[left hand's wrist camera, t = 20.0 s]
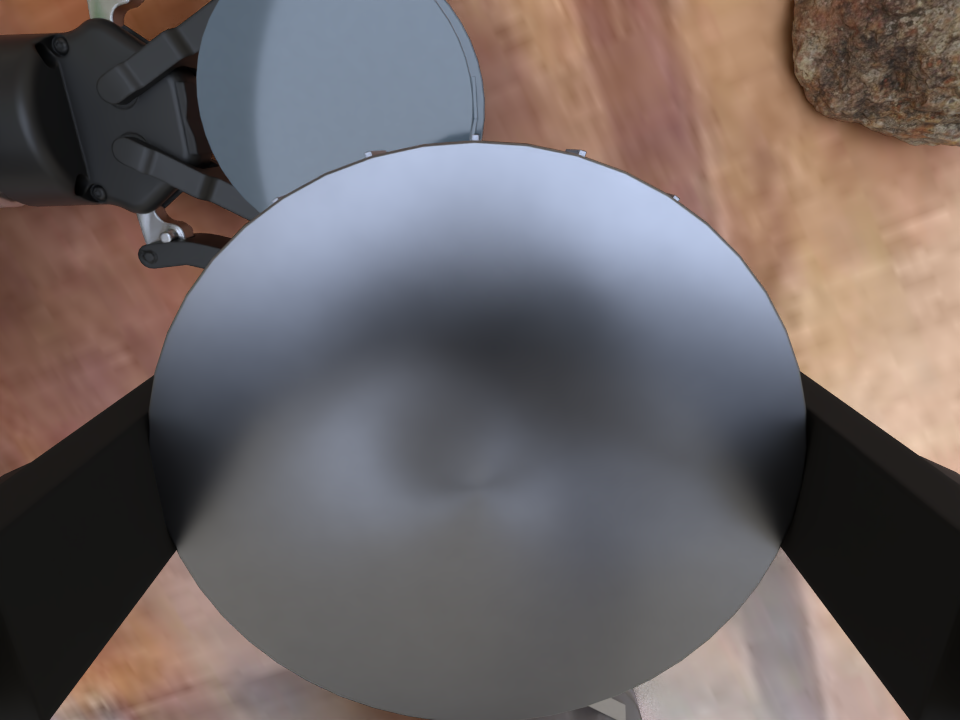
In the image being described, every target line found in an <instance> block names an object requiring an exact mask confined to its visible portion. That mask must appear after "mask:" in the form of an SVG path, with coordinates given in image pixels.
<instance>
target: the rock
mask: <svg viewBox="0 0 960 720" xmlns="http://www.w3.org/2000/svg"><path fill="white" fill-rule="evenodd" d="M794 2H795V6H794V21H793V30H792V41H793V49H794V51H793V60H794V67H795V75H796V77H797V79H798V81H799V83H800V85H802V86H803V88H804V92H805V96H806V98H807V100H808V101H809V102H810V103H811V104H812V105H814V107H815V110H816V111H818V112H820V113H821V114H823V115H824V116H826V117H830V118H833V119H835V120H840V121H844V122H849V123H852V122H857V123H860V124H862V125H864V126H866V127H868V128H869V129H870V130H873V131H876V132H879V133H881V134H883V135H885V136H894V137H896V138H898V139H900V140H902V141H904V142H907V143H908V144H910V145H914V146H917V145H922V144H923V145H930V146H936V145H940V144H942V145H949V146H960V0H794Z"/></svg>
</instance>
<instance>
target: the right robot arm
mask: <svg viewBox="0 0 960 720" xmlns="http://www.w3.org/2000/svg"><path fill="white" fill-rule="evenodd" d="M218 1H219V0H212V1H210V2H209V3H208V4H206V5H205V6H204V7H202V8H201V9H200V10H199V11H197V12H196V13H195V14H193V15H192V16H191V17H189V18H188V19H187V20H185V21H184V22H183V23H182V24H180V25H179V26H177V27H175V28H172V29H168V30H166V31H163V32H162V33H160V34H159V35H158V36H156V37H155V38H154V39H152V40H151V41H150V42H149V41H148V40H146V39H145V38H143V37H142V36H140V35H139V34H137V33H136V32H134V31H133V30H131V29H130V28H128V27H127V26H125V25H124V16H125V14H126V12H127V11H128V10H130V9H133V8H136V7H138V6H140V5H141V3H143V2H144V0H87V2H88V8H89V14H90V19H89V20H87V21H85V22H84V23H82V24H81V25H80V26H79V27H78V28H76V29H74V30H72V31H69V32H65V33H48V34H21V35H0V208H2V207H20V206H23V205H29V206H66V205H98V204H111V205H116V206H120V207H122V208H124V209H126V210H128V211H131V212H133V213H136V214H137V217H138V220H139V223H140V226H141V229H142V232H143V236H144V239H145V242H146V245H144V246H142V247H141V248H140V249H139V252H138V256H139V259H140V261H141V263H142V264H143V265H144V266H146V267H148V268H163V267H172V266H180V265H190V266H194V267H199V268H203V269H205V268H206V266H207V265H208V263H209V262H210V261H211V259H212V258H213V257H214V256H215V255H216V254H217V253H218V252H219V251H220V250H221V249H222V248H223V247H224V246H225V245H226V244H227V243H228V242H229V241H230V240H231V238H228V237H224V236H220V235H214V234H206V233H195V234H193V229H192V227H191V226H189V225H188V224H187V223H185V222H183V221H177V220H174V219H172V218H171V217H169V216H168V214H167V213H166V211H165V208H166V207H167V206H168V205H169V204H170V203H171V202H172V201H173V200H175V199H176V198H177V197H178V196H179V195H180V194H181V193H182V192H185V193H187V194H189V195H191V196H193V197H195V198H198V199H201V200H206V201H210V202H212V203H215V204H217V205H219V206H221V207H223V208H225V209H227V210H229V211H231V212H233V213H235V214H237V215H239V216H241V217H243V218H245V219H247V220H249V221H251V220H252V219H253V218H255V217H256V216H257V215H259V214H260V213H259V212H258V211H257V210H256V209H255V208H254V207H253V206H252V205H250V204H249V203H248V202H247V201H246V200H245V199H244V198H243V197H242V195H241V194H240V193H239V192H238V191H237V190H236V189H235V187H234V186H233V185H232V184H231V182H230V181H229V179H228V178H227V176H226V175H225V174H224V172H223V171H222V169H221V167H220V165H219V164H218V162H217V161H215V160H213V159H211V156H212V153H213V152H212V150H211V147H210V145H209V142H208V140H207V137H206V135H205V131H204V128H203V124H202V121H201V117H200V112H199V105H198V99H197V80H196V75H197V63H198V55H199V50H200V45H201V41H202V37H203V34H204V31H205V28H206V26H207V23H208V20H209V18H210V16H211V14H212V12H213V10H214V8H215V7H216V5H217V3H218Z"/></svg>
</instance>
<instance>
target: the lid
mask: <svg viewBox="0 0 960 720" xmlns="http://www.w3.org/2000/svg"><path fill="white" fill-rule="evenodd" d="M471 136H472V141H459V142H446V143H432V144H422V145H417V146H413V147H408V148H403V149H399V150H394V151H390V152H386V150H379V151H369V152H365V153H364V154H365V157H366V158H364V159H361V160H359V161H356V162H353V163H351V164H348V165H345V166H343V167H340V168H337V169H335V170H332V171H329V172H327V173H324V174H323V175H321V176H319V177H317V178H315V179H313V180H312V181H310V182H308V183H306V184H304V185H303V186H301V187H299V188H297V189H295V190H293V191H292V192H290V193H288V194H286V195H284V196H280V197H276V198H275V199H274V200H272V202H273V204H272V205H271V206H269V207H268V208H267V209H265V210H264V211H263V212H261V213H260V214H259V215H257V216H256V217H255V218H253V219H252V220H251V221H249V222H248V223H247V224H245V225H244V226H243V227H242V228H241V229H240V230H239V231H238V232H237V233H236V234H235V235H234V236H233V237H232V238H231V240H230V241H229V242H228V243H227V244H226V245H225V246H224V247H223V248H222V249H221V250H220V251H219V252H218V253H217V254H216V255H215V256H214V257H213V258H212V259H211V261H210V262H209V263H208V265H207V266H206V268H205V269H204V270H203V272H202V273H201V275H200V276H199V278H198V279H197V280H196V282H195V283H194V285H193V286H192V287H191V289H190V290H189V292H188V293H187V294H186V296H185V298H184V300H183V302H182V304H181V306H180V308H179V310H178V312H177V314H176V316H175V318H174V320H173V322H172V324H171V326H170V328H169V330H168V332H167V335H166V338H165V341H164V345H163V348H162V351H161V354H160V357H159V360H158V363H157V366H156V370H155V374H154V380H153V386H152V393H151V399H150V406H149V450H150V455H151V460H152V465H153V469H154V474H155V478H156V483H157V488H158V492H159V497H160V501H161V506H162V511H163V515H164V519H165V524H166V527H167V530H168V532H169V534H170V536H171V538H172V541H173V543H174V545H175V547H176V549H177V552H178V554H179V556H180V558H181V559H182V561H183V563H184V564H185V566H186V567H187V569H188V571H189V572H190V574H191V575H192V577H193V579H194V580H195V582H196V583H197V585H198V586H199V588H200V589H201V590H202V592H203V593H204V594H205V595H206V597H207V598H208V599H209V600H210V601H211V603H212V604H213V605H214V606H215V608H216V609H217V610H218V611H219V612H220V614H221V615H222V616H223V617H224V618H225V619H226V620H227V621H228V622H229V623H230V624H231V625H232V626H233V627H234V628H236V629H237V630H238V631H239V632H240V633H241V634H242V635H243V636H244V637H245V638H246V639H247V640H248V641H249V642H251V643H252V644H253V645H255V646H256V647H257V648H258V649H260V650H261V651H262V652H264V653H265V654H266V655H268V656H269V657H270V658H272V659H273V660H274V661H276V662H277V663H278V664H280V665H282V666H283V667H285V668H287V669H288V670H290V671H292V672H293V673H295V674H297V675H298V676H300V677H302V678H303V679H305V680H307V681H309V682H311V683H313V684H315V685H317V686H319V687H322V688H324V689H326V690H328V691H330V692H332V693H334V694H337V695H339V696H341V697H344V698H347V699H350V700H353V701H355V702H358V703H361V704H364V705H367V706H370V707H373V708H376V709H380V710H385V711H389V712H393V713H397V714H401V715H405V716H410V717H417V718H425V719H432V720H525V719H531V718H538V717H545V716H551V715H555V714H559V713H563V712H567V711H571V710H575V709H579V708H583V707H586V706H589V705H592V704H595V703H598V702H600V701H603V700H606V699H609V698H612V697H614V696H617V695H620V694H622V693H624V692H626V691H628V690H630V689H632V688H634V687H636V686H638V685H641V684H643V683H645V682H647V681H649V680H651V679H653V678H654V677H656V676H657V675H659V674H661V673H662V672H664V671H666V670H667V669H669V668H670V667H672V666H674V665H675V664H677V663H679V662H680V661H682V660H683V659H684V658H686V657H687V656H688V655H689V654H691V653H692V652H693V651H695V650H696V649H697V648H698V647H700V646H701V645H702V644H704V643H705V642H706V641H707V640H709V639H710V638H711V637H712V636H713V635H714V634H715V633H716V632H717V631H718V630H719V629H720V628H721V627H722V626H723V625H724V624H725V623H726V622H727V621H728V620H729V619H730V618H731V617H732V616H733V615H734V614H735V613H736V612H737V611H738V610H739V608H740V607H741V606H742V605H743V603H744V602H745V601H746V600H747V598H748V597H749V596H750V595H751V593H752V592H753V591H754V590H755V588H756V587H757V586H758V584H759V583H760V581H761V579H762V578H763V576H764V575H765V573H766V571H767V570H768V568H769V566H770V565H771V563H772V562H773V560H774V558H775V557H776V555H777V553H778V551H779V548H780V546H781V544H782V542H783V539H784V537H785V535H786V533H787V530H788V528H789V526H790V523H791V521H792V518H793V514H794V511H795V507H796V504H797V500H798V497H799V493H800V490H801V486H802V480H803V473H804V465H805V458H806V450H807V426H806V405H805V399H804V393H803V387H802V381H801V375H800V369H799V366H798V363H797V360H796V357H795V354H794V351H793V348H792V345H791V342H790V339H789V336H788V333H787V330H786V328H785V326H784V324H783V322H782V320H781V318H780V317H779V315H778V313H777V311H776V309H775V307H774V305H773V303H772V301H771V299H770V297H769V295H768V293H767V292H766V290H765V289H764V287H763V286H762V285H761V283H760V282H759V281H758V279H757V278H756V277H755V275H754V274H753V272H752V271H751V270H750V268H749V267H748V266H747V264H746V263H745V262H744V260H743V259H742V257H741V256H740V255H739V254H738V253H737V252H736V251H735V250H734V249H733V248H732V247H731V246H730V245H729V244H728V243H727V242H726V241H725V240H724V239H723V238H722V237H721V236H720V235H719V234H718V233H717V232H716V231H715V230H714V229H713V228H712V227H711V226H710V225H709V224H708V223H707V222H706V221H704V220H703V219H701V218H700V217H699V216H697V215H696V214H695V213H693V212H692V211H691V210H689V209H688V208H687V207H685V206H684V205H682V204H681V203H680V202H678V201H679V200H680V198H678V197H677V196H675V195H672V194H668V193H665V192H663V191H661V190H660V189H658V188H656V187H654V186H652V185H650V184H648V183H646V182H644V181H643V180H641V179H639V178H637V177H635V176H633V175H631V174H629V173H628V172H626V171H623V170H620V169H618V168H615V167H612V166H609V165H606V164H604V163H601V162H598V161H595V160H593V159H590V158H587V157H585V155H586V151H583V150H575V149H566V151H560V150H555V149H551V148H546V147H541V146H536V145H531V144H525V143H510V142H494V141H479V135H471Z"/></svg>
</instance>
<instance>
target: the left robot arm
mask: <svg viewBox="0 0 960 720" xmlns="http://www.w3.org/2000/svg"><path fill="white" fill-rule="evenodd" d="M800 375H801V381H802V387H803V393H804V399H805V405H806V426H807V450H806V458H805V465H804V473H803V480H802V486H801V490H800V493H799V497H798V500H797V504H796V507H795V511H794V514H793V518H792V521H791V523H790V526H789V528H788V530H787V533H786V535H785V537H784V539H783V542H782V544H781V548H782V549H783V550H784V552H785V553H786V554H787V556H788V557H789V559H790V560H791V561H792V563H793V564H794V565H795V567H796V568H797V569H798V571H799V572H800V573H801V575H802V576H803V577H804V579H805V580H806V581H807V583H808V584H809V585H810V587H811V588H812V589H813V591H814V592H815V593H816V595H817V596H818V597H819V599H820V600H821V601H822V603H823V604H824V605H825V607H826V608H827V609H828V611H829V612H830V613H831V615H832V616H833V617H834V619H835V620H836V622H837V623H838V624H839V626H840V627H841V628H842V630H843V631H844V632H845V634H846V635H847V636H848V638H849V639H850V640H851V642H852V643H853V644H854V646H855V647H856V648H857V650H858V651H859V652H860V654H861V655H862V656H863V658H864V659H865V660H866V662H867V663H868V664H869V666H870V667H871V668H872V670H873V671H874V672H875V674H876V675H877V676H878V678H879V679H880V680H881V682H882V683H883V684H884V686H885V687H886V689H887V690H888V691H889V693H890V694H891V695H892V697H893V698H894V699H895V701H896V702H897V703H898V705H899V706H900V707H901V709H902V710H903V711H904V713H905V714H906V715H907V717H908V718H909V719H910V720H960V475H959V474H958V473H956V472H954V471H952V470H950V469H948V468H946V467H943V466H941V465H939V464H937V463H934V462H932V461H930V460H928V459H926V458H923V457H921V456H919V455H917V454H916V453H914V452H913V451H912V450H910V449H909V448H907V447H906V446H905V445H903V444H902V443H900V442H899V441H898V440H896V439H895V438H893V437H892V436H891V435H889V434H888V433H886V432H885V431H884V430H882V429H881V428H879V427H878V426H876V425H875V424H874V423H872V422H871V421H869V420H868V419H867V418H865V417H864V416H862V415H861V414H860V413H858V412H857V411H855V410H854V409H853V408H851V407H850V406H848V405H847V404H846V403H844V402H843V401H841V400H840V399H838V398H837V397H836V396H834V395H833V394H831V393H830V392H829V391H827V390H826V389H824V388H823V387H822V386H820V385H819V384H817V383H816V382H815V381H813V380H812V379H810V378H809V377H807V376H806V375H805V374H803V373H802V372H800ZM153 380H154V376H152V377H151V378H149V379H148V380H146V381H145V382H144V383H142V384H141V385H139V386H138V387H137V388H135V389H134V390H132V391H131V392H130V393H128V394H127V395H125V396H124V397H123V398H121V399H120V400H118V401H117V402H115V403H114V404H113V405H111V406H110V407H108V408H107V409H106V410H104V411H103V412H101V413H100V414H99V415H97V416H96V417H94V418H93V419H92V420H90V421H89V422H87V423H86V424H85V425H83V426H82V427H80V428H79V429H77V430H76V431H75V432H73V433H72V434H70V435H69V436H68V437H66V438H65V439H63V440H62V441H61V442H59V443H58V444H56V445H55V446H54V447H52V448H51V449H49V450H48V451H46V452H45V453H44V454H42V455H41V456H39V457H38V458H37V459H35V460H34V461H32V462H31V463H28V464H26V465H24V466H22V467H20V468H17V469H15V470H13V471H11V472H9V473H7V474H4V475H3V476H1V477H0V720H50V719H51V717H52V716H53V715H54V713H55V712H56V711H57V709H58V708H59V707H60V705H61V704H62V703H63V701H64V700H65V699H66V697H67V696H68V695H69V693H70V692H71V691H72V689H73V688H74V687H75V685H76V684H77V683H78V681H79V680H80V679H81V677H82V676H83V675H84V673H85V672H86V671H87V669H88V668H89V667H90V665H91V664H92V662H93V661H94V660H95V658H96V657H97V656H98V654H99V653H100V652H101V650H102V649H103V648H104V646H105V645H106V644H107V642H108V641H109V640H110V638H111V637H112V636H113V634H114V633H115V632H116V630H117V629H118V628H119V626H120V625H121V624H122V622H123V621H124V620H125V618H126V617H127V616H128V614H129V613H130V612H131V610H132V609H133V608H134V606H135V605H136V604H137V602H138V601H139V600H140V598H141V597H142V596H143V594H144V593H145V591H146V590H147V589H148V587H149V586H150V585H151V583H152V582H153V581H154V579H155V578H156V577H157V575H158V574H159V573H160V571H161V570H162V569H163V567H164V566H165V565H166V563H167V562H168V561H169V559H170V558H171V557H172V555H173V554H174V553H175V551H176V550H177V549H176V547H175V545H174V543H173V541H172V538H171V536H170V534H169V532H168V530H167V527H166V524H165V519H164V515H163V511H162V506H161V501H160V497H159V492H158V488H157V483H156V478H155V474H154V469H153V465H152V460H151V455H150V450H149V406H150V399H151V393H152V386H153ZM525 720H642V718H641V714H640V710H639V707H638V703H637V699H636V696H635V693H634V691H633V689H630V690H628V691H626V692H624V693H622V694H620V695H617V696H614V697H612V698H609V699H606V700H603V701H600V702H598V703H595V704H592V705H589V706H586V707H583V708H579V709H575V710H571V711H567V712H563V713H559V714H555V715H551V716H545V717H538V718H531V719H525Z"/></svg>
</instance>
